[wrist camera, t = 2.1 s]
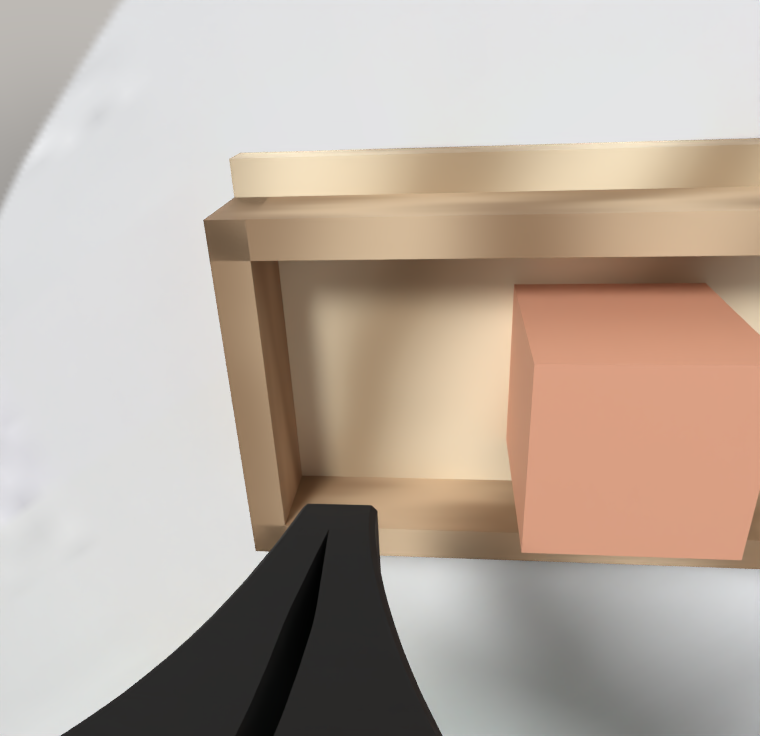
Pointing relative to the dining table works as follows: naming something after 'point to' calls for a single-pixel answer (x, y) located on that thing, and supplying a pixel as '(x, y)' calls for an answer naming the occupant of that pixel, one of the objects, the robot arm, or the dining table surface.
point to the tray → (443, 314)
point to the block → (633, 420)
